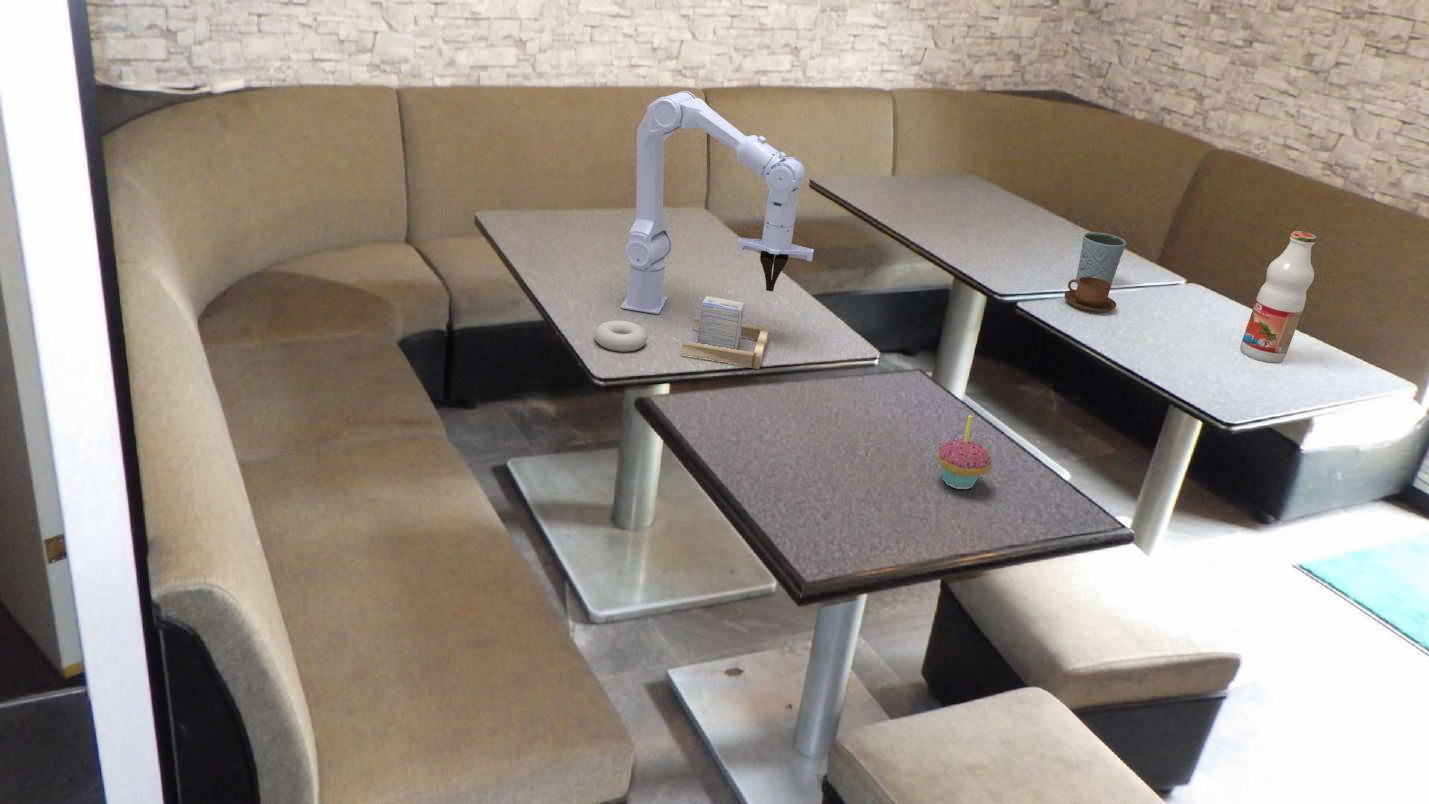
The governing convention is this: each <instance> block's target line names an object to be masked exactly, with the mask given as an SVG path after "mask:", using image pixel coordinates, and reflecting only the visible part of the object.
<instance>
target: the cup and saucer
mask: <svg viewBox="0 0 1429 804" xmlns="http://www.w3.org/2000/svg"><path fill="white" fill-rule="evenodd" d="M1072 283H1075V284H1077V287H1076V288H1072V285H1071V284H1072ZM1067 288H1068V290H1067V291H1065V292H1064V299H1065V300H1066V301H1067V303H1069V304H1070V305H1071V306H1073V307H1076V308H1078V309H1081V310H1083V311H1087V312H1093V313H1107V312H1108V313H1109V312H1111V311H1113V310H1114V309H1116V307H1117V303H1116V301H1115V300H1113V299H1112V298H1110V297H1109V294H1110V291H1111V288H1112V284H1110V283H1108V282H1106V281H1104V280H1101V279H1098V278H1093V277H1081V278H1080V279H1079V281H1078V280H1076V278H1075V279H1071V280H1069V281H1068V283H1067Z"/></svg>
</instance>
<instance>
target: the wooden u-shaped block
mask: <svg viewBox="0 0 1429 804" xmlns="http://www.w3.org/2000/svg"><path fill="white" fill-rule="evenodd" d="M699 321H700V316H697V315H696V316H694V319H693V326H692V331H693V330H695V332H698V330H699ZM769 333H770V328H769V327H763V326H758V325H757V326H756V325H751V324H745V323H742V327H741V336H740V339H742V338H746V339H745V340H748V339H751V340H750V341H754V340H756V341H755V342H756V344H755V348H754V350H753V352H752V351H746V350H741V349H736V350H734V349H728V348H722V347H716V346H710V345H704V344H698V343H697V342H691V341H685V340H683V341H682V344H681V353H680V356H681V355H686V356H693V357H697V358H707V359H711V360H714V361H723V362H725V363H728V364H727V365H731V364H734V365H733V366H737V365H739V366H738V367H745V368H751V369H755V370H756V369H757V370H760V367H761V364H762V360H763V357H764V355H765V354H764V353H765V350H766V347H767V344H766V343H768V339H769ZM725 363H724V364H725Z"/></svg>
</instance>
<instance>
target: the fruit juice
mask: <svg viewBox="0 0 1429 804" xmlns="http://www.w3.org/2000/svg"><path fill="white" fill-rule="evenodd" d="M1316 242H1317V236H1316V235H1315V234H1312V233H1311V232H1307V231H1301V230H1293V231H1292V232H1291V233H1290V237H1289V244H1288V245H1287V247H1286V248H1285V249H1284V251H1283V252H1282V253H1281V254H1280V255H1279V256H1278V257H1276V258H1275V259H1273V261H1271V262H1270V263H1269V265H1268V267H1267V270H1266V280H1265V282H1264V284H1263V285H1262V286H1261V287H1260V289H1259V291H1258V294H1257V296H1256V300H1255V302H1254V304H1253V305H1254V306H1253V308H1252V310H1251V314H1250V316H1249V319H1248V323H1247V325H1246V328H1245V330H1244V333H1243V337H1242V340H1241V342H1240V345H1239V346H1240V348H1239V349H1240V352H1242V353H1243V354H1244V355H1245V356H1247V357H1249V358H1252V359H1253V360H1258V361H1261V362H1265V363H1269V364H1270V363H1272V364H1277V363H1282V362H1283V361H1284V360H1285V359H1286V356H1287V353H1288V351H1289V349H1290V345H1291V343H1292V340H1293V338H1294V335H1295V332H1296V329H1297V328H1298V327H1297V326H1298V324H1299V321H1300V318H1301V316H1302V313H1303V310H1304V308H1305V305H1306V300H1307V290H1309V287H1310V286H1311V285H1312V283H1313V281H1314V279H1315V278H1314V277H1315V271H1314V268H1313V265H1312V262H1311V261H1312V259H1311V256H1312V247H1313V246H1314V245H1315V243H1316Z"/></svg>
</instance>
